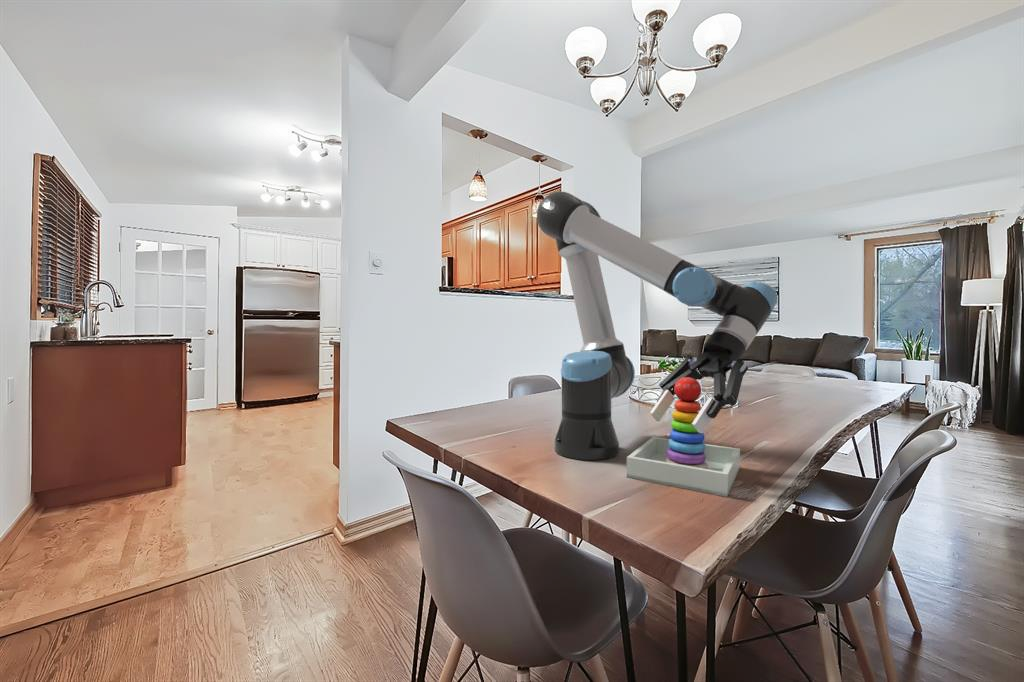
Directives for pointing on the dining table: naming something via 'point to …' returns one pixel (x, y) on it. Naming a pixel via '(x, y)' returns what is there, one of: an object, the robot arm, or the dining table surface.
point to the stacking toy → (686, 427)
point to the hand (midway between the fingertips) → (674, 422)
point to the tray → (685, 468)
